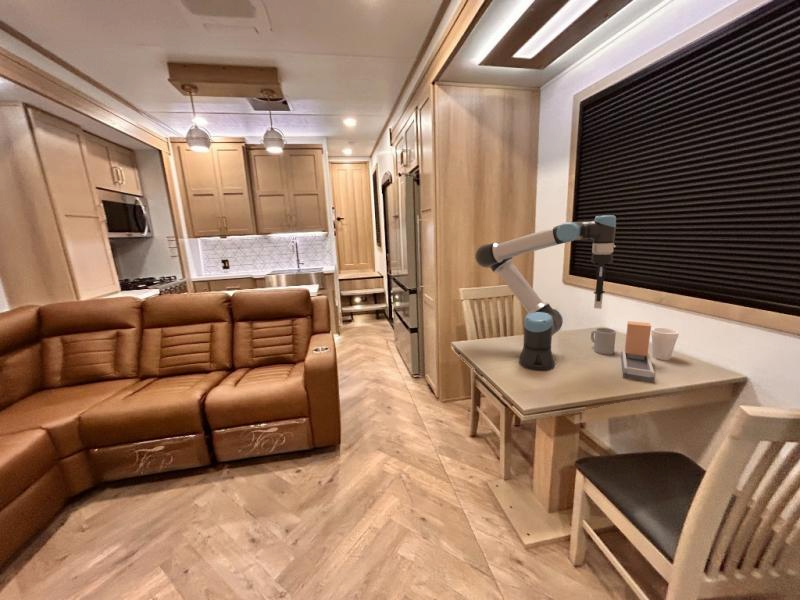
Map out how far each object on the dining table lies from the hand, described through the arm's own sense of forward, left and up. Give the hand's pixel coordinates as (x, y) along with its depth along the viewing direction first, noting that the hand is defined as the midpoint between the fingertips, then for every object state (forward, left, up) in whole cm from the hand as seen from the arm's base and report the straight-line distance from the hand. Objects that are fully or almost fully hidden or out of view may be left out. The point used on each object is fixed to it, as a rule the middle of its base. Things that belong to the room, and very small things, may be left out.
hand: (597, 307), depth 138 cm
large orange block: (+18, -8, -24) cm, 31 cm away
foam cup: (+32, -12, -27) cm, 43 cm away
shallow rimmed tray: (+11, -12, -26) cm, 31 cm away
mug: (+19, +8, -27) cm, 34 cm away
